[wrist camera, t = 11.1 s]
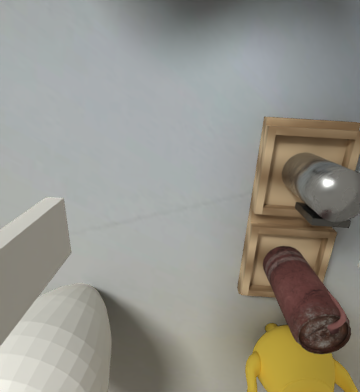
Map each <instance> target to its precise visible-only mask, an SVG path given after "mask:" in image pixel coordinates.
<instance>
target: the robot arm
mask: <svg viewBox="0 0 360 392" xmlns="http://www.w3.org/2000/svg"><path fill="white" fill-rule="evenodd" d="M70 254H71V246H70V239H69V232H68V225H67V218H66V211H65V204H64V198H53V197H46V198H44V199H43V200H41V201H40V202H39V203H37V204H36V205H34V206H33V207H32V208H30V209H29V210H27V211H26V212H24V213H23V214H22V215H20V216H19V217H17V218H16V219H14V220H13V221H12V222H10V223H9V224H7V225H6V226H5V227H3V228H2V229H0V346H1V345H2V344H3V342H4V341H5V340H6V338H7V337H8V336H9V334H10V333H11V332H12V330H13V329H14V328H15V326H16V325H17V324H18V323H19V321H20V320H21V319H22V317H23V316H24V315H25V313H26V312H27V311H28V309H29V308H30V307H31V305H32V304H33V303H34V301H35V300H36V299H37V298H38V296H39V295H40V294H41V292H42V291H43V290H44V288H45V287H46V286H47V284H48V283H49V282H50V280H51V279H52V278H53V276H54V275H55V274H56V272H57V271H58V270H59V269H60V267H61V266H62V265H63V263H64V262H65V261H66V259H67V258H68V257H69V255H70ZM358 267H359V269H360V260H359V263H358Z"/></svg>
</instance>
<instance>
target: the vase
mask: <svg viewBox="0 0 360 392" xmlns="http://www.w3.org/2000/svg"><path fill="white" fill-rule="evenodd" d="M111 347H112V338H111V330H110V324H109V318H108V314H107V309H106V306H105V304H104V302H103V299H102V297H101V295H100V293H99V292H98V291H97V290H96V289H95V288H94V287H92V286H90V285H88V284H84V283H76V284H71V285H66V286H62V287H59V288H56V289H54V290H52V291H49V292H47V293H44V294H42V295H40V296H38V298H37V299H36V300H35V301H34V303H33V304H32V305H31V307H30V308H29V309H28V311H27V312H26V313H25V315H24V316H23V317H22V319H21V320H20V321H19V323H18V324H17V325H16V326H15V328H14V329H13V330H12V332H11V333H10V334H9V336H8V337H7V338H6V340H5V341H4V342H3V344H2V345H1V346H0V392H108V386H109V375H110V361H111Z"/></svg>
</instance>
